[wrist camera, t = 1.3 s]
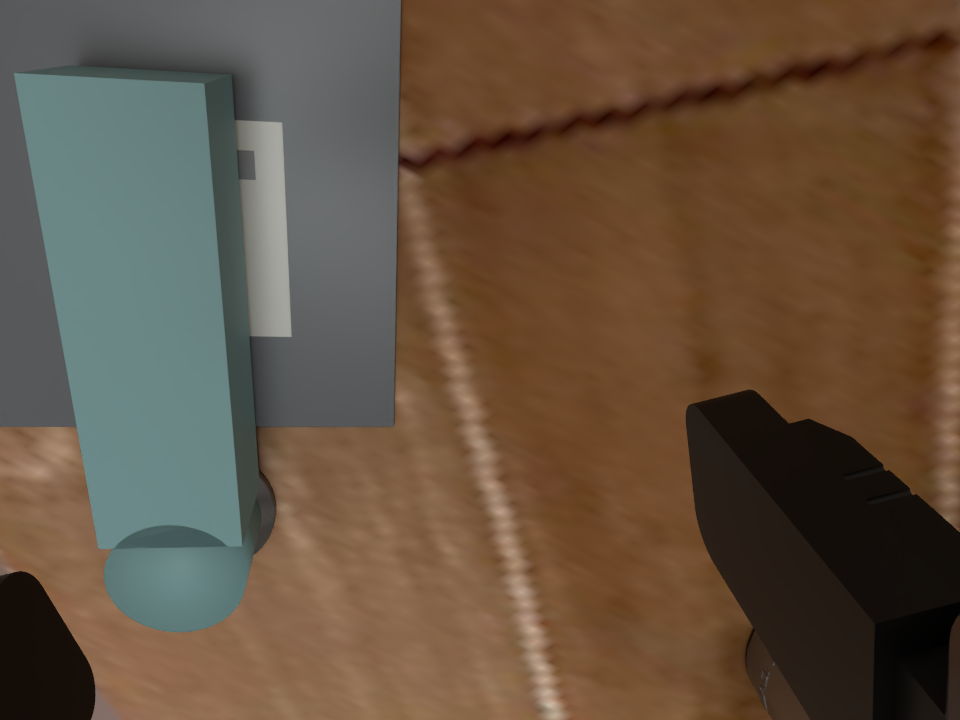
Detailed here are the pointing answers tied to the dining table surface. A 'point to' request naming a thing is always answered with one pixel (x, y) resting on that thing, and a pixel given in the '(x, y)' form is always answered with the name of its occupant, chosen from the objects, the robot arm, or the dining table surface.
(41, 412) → the label panel
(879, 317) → the dining table surface
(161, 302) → the block
